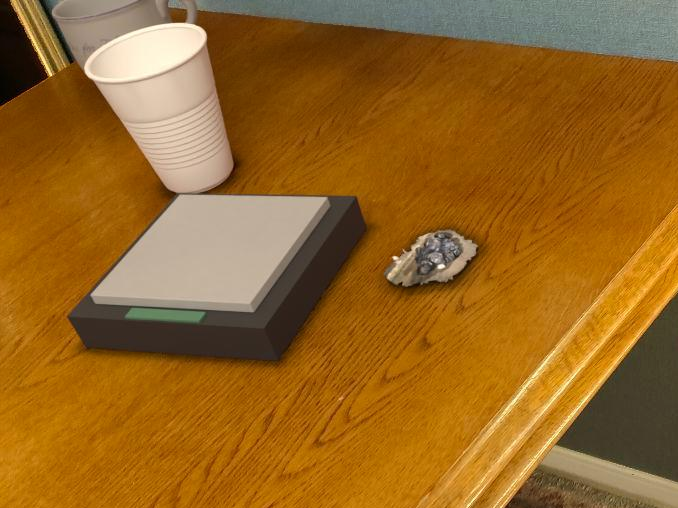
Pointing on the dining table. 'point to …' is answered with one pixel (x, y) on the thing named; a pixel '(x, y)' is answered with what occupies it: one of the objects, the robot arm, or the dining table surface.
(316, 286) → the scale
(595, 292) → the dining table surface
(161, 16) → the teacup
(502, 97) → the dining table surface
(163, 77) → the cup
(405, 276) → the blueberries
